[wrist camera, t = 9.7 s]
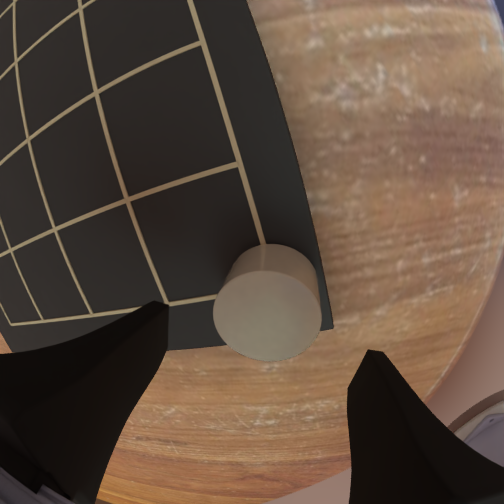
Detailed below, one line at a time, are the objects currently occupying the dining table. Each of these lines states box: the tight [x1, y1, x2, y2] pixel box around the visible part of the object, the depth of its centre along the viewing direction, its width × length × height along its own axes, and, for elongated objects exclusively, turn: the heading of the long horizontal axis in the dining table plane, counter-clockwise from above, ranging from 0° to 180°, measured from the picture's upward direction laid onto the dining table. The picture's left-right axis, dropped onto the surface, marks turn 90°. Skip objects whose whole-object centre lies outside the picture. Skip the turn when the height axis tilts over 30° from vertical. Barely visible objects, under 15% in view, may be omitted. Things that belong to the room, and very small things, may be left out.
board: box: [0, 0, 334, 352], centre depth 13 cm, size 40×30×1 cm
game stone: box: [213, 244, 322, 362], centre depth 13 cm, size 4×4×3 cm
